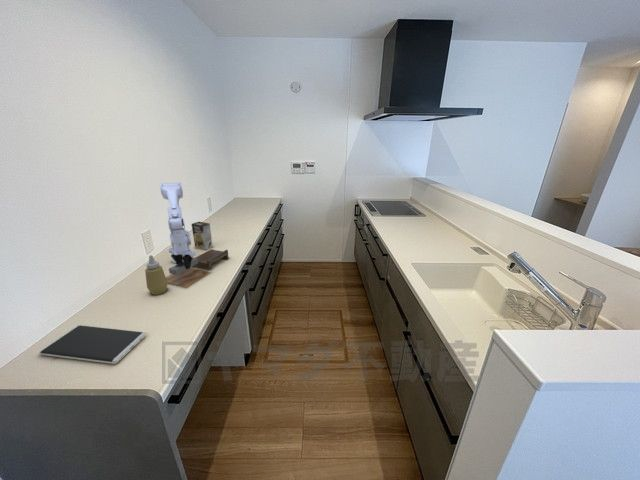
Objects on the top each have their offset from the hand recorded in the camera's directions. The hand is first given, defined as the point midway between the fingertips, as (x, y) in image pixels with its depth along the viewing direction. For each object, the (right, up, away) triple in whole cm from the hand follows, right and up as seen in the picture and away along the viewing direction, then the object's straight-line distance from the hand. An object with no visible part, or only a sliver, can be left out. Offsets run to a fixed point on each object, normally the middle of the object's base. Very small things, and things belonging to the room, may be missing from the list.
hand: (184, 267), depth 131 cm
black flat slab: (-8, -22, -42) cm, 48 cm away
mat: (0, -5, +2) cm, 5 cm away
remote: (0, 0, 0) cm, 0 cm away
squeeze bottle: (-6, -10, -11) cm, 16 cm away
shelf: (+6, +1, +18) cm, 19 cm away
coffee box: (-7, +9, +38) cm, 39 cm away
